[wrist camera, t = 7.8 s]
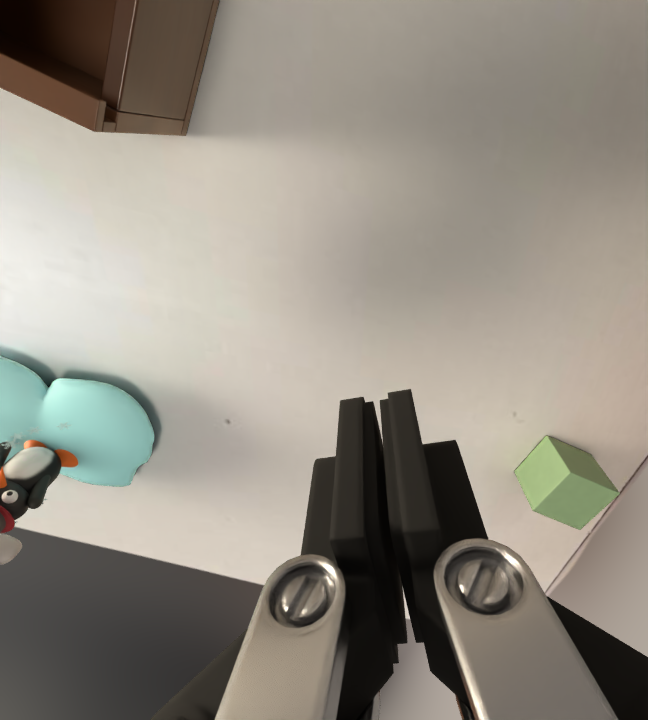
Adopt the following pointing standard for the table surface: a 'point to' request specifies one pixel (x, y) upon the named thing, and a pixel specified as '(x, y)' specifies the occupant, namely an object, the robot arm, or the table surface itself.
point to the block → (564, 483)
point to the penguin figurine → (62, 439)
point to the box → (108, 60)
